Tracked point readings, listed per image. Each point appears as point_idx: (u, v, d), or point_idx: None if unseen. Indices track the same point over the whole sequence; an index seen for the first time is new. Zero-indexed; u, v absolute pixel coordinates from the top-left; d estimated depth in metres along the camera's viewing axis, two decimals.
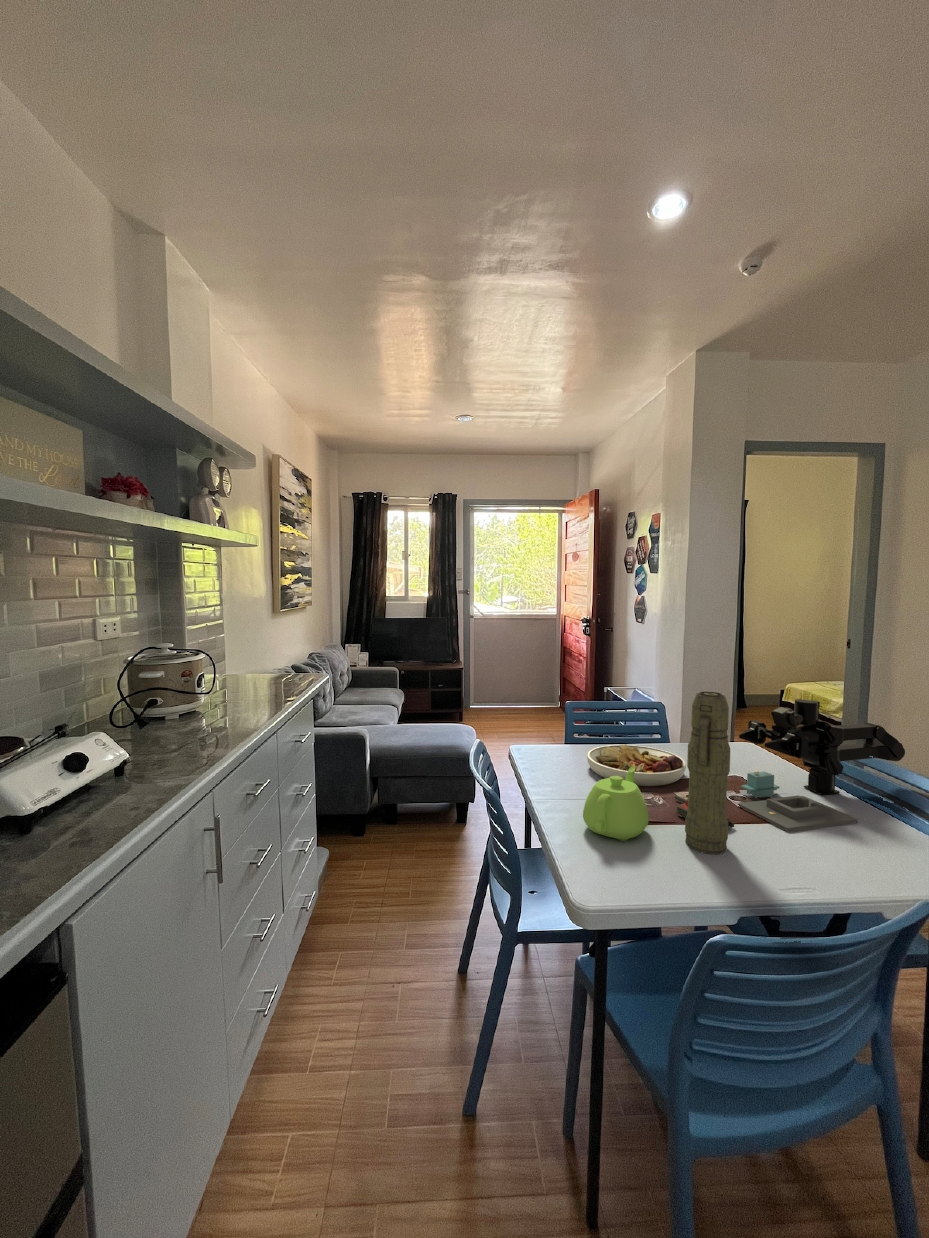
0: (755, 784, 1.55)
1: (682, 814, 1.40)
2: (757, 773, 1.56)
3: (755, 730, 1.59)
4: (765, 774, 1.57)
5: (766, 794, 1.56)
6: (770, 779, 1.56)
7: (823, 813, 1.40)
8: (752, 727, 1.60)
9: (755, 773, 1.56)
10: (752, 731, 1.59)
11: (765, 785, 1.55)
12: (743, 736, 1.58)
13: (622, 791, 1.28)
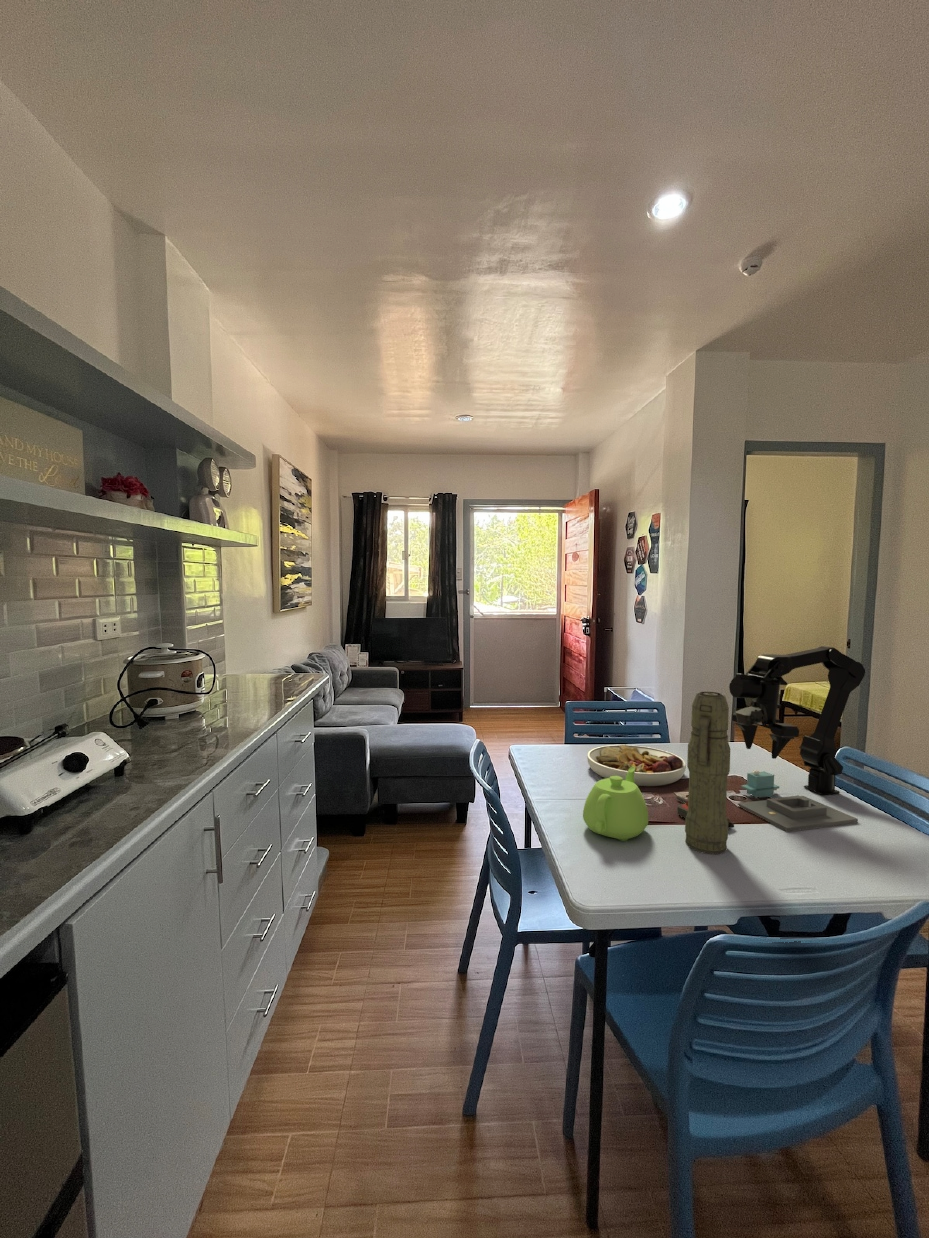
0: (755, 784, 1.55)
1: (682, 814, 1.40)
2: (757, 773, 1.56)
3: (746, 728, 1.61)
4: (765, 773, 1.57)
5: (766, 794, 1.56)
6: (770, 779, 1.56)
7: (823, 813, 1.40)
8: (741, 728, 1.61)
9: (755, 773, 1.56)
10: (746, 732, 1.61)
11: (765, 785, 1.55)
12: (749, 745, 1.61)
13: (622, 791, 1.28)
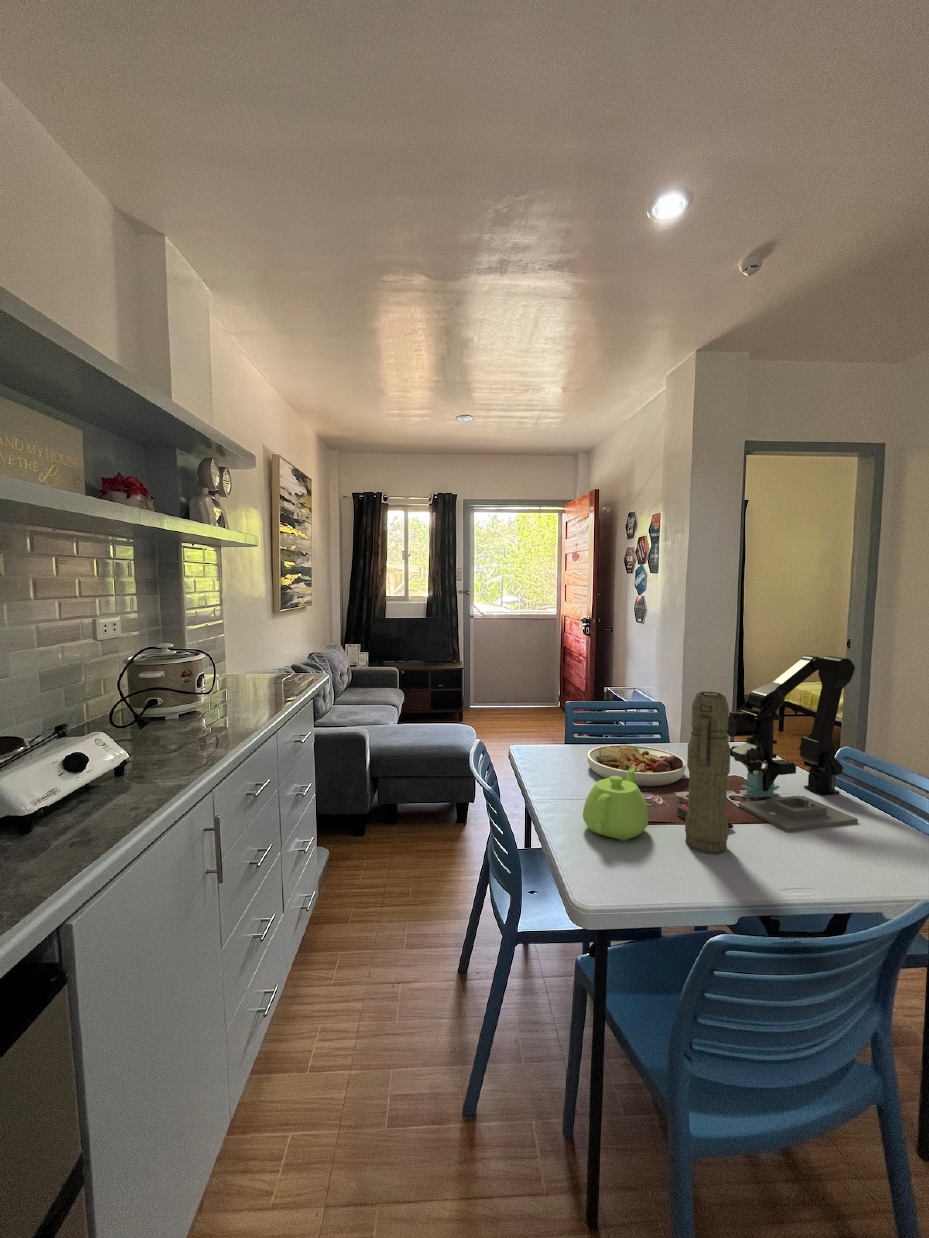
0: (755, 784, 1.55)
1: (682, 814, 1.40)
2: (757, 773, 1.56)
3: (751, 766, 1.59)
4: None
5: (766, 794, 1.56)
6: None
7: (823, 813, 1.40)
8: (746, 766, 1.59)
9: (755, 773, 1.56)
10: (752, 770, 1.59)
11: None
12: None
13: (622, 791, 1.28)
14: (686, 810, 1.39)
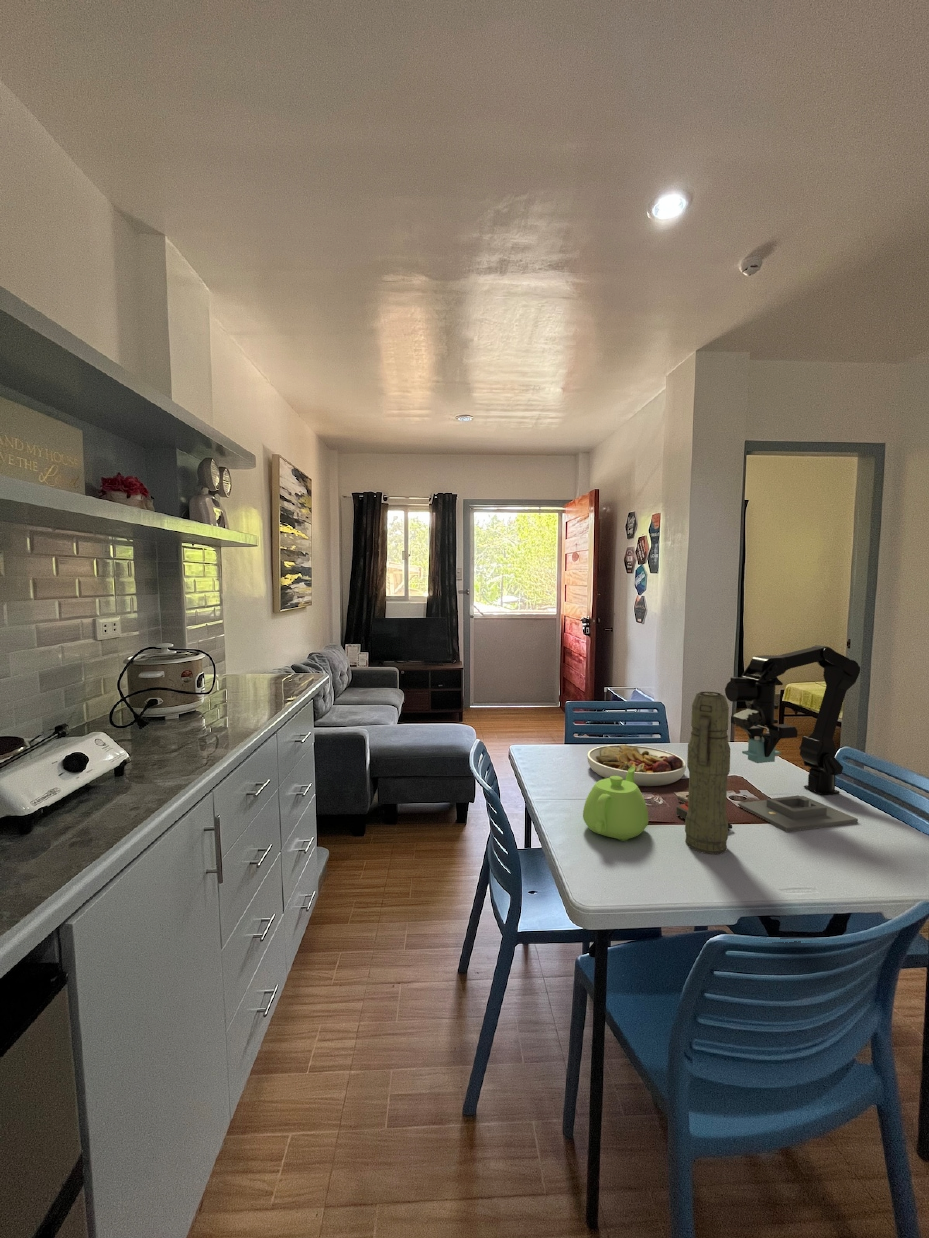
0: (756, 749, 1.54)
1: (681, 814, 1.40)
2: (758, 738, 1.55)
3: (752, 732, 1.58)
4: None
5: (767, 759, 1.55)
6: None
7: (823, 813, 1.40)
8: (748, 732, 1.59)
9: (756, 738, 1.55)
10: (753, 736, 1.58)
11: None
12: None
13: (622, 791, 1.28)
14: (685, 810, 1.39)
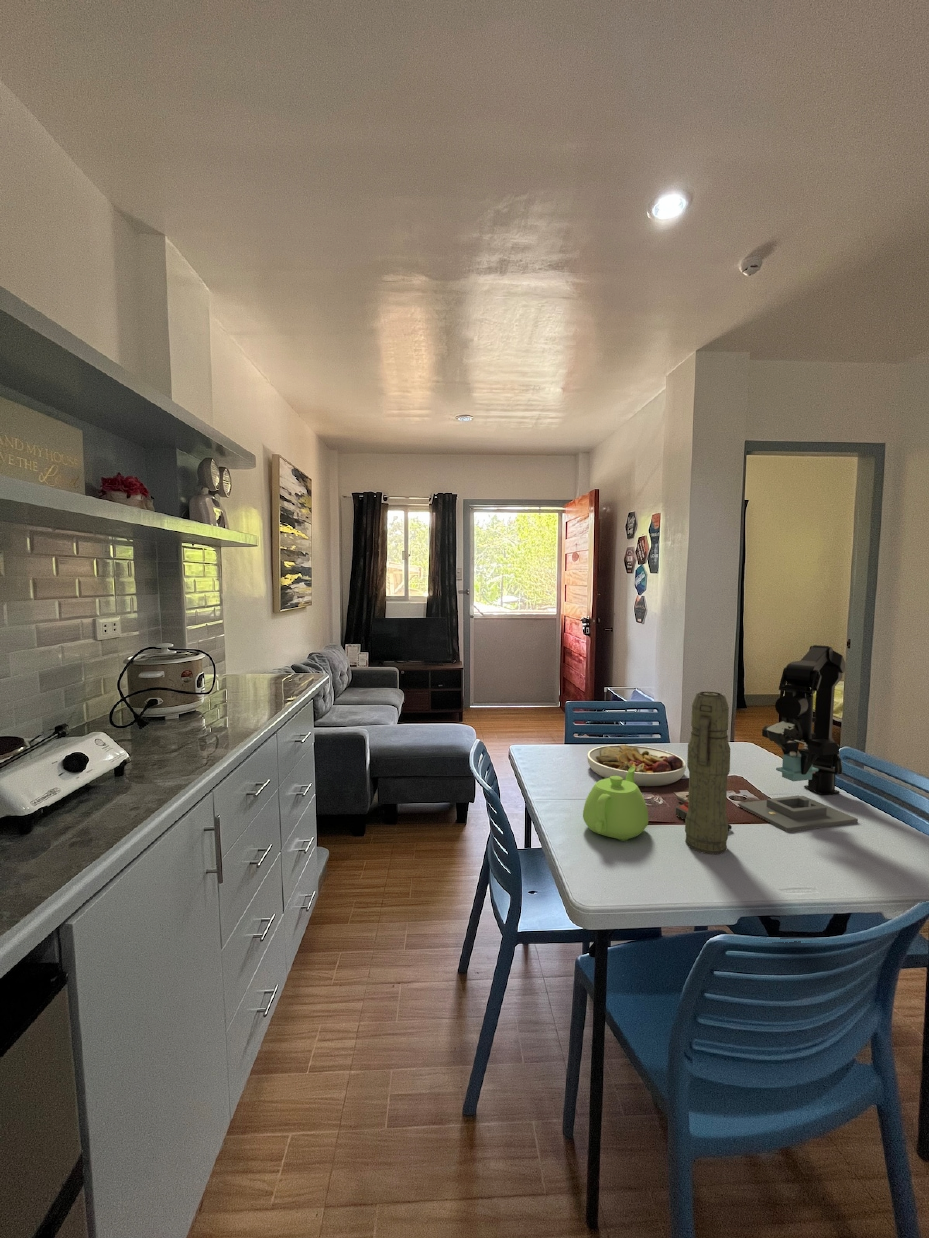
0: (792, 766, 1.40)
1: (680, 815, 1.40)
2: (794, 754, 1.41)
3: (787, 747, 1.44)
4: None
5: (804, 777, 1.41)
6: None
7: (823, 813, 1.40)
8: (782, 747, 1.45)
9: (792, 754, 1.41)
10: (787, 752, 1.44)
11: None
12: None
13: (622, 791, 1.28)
14: (684, 811, 1.39)
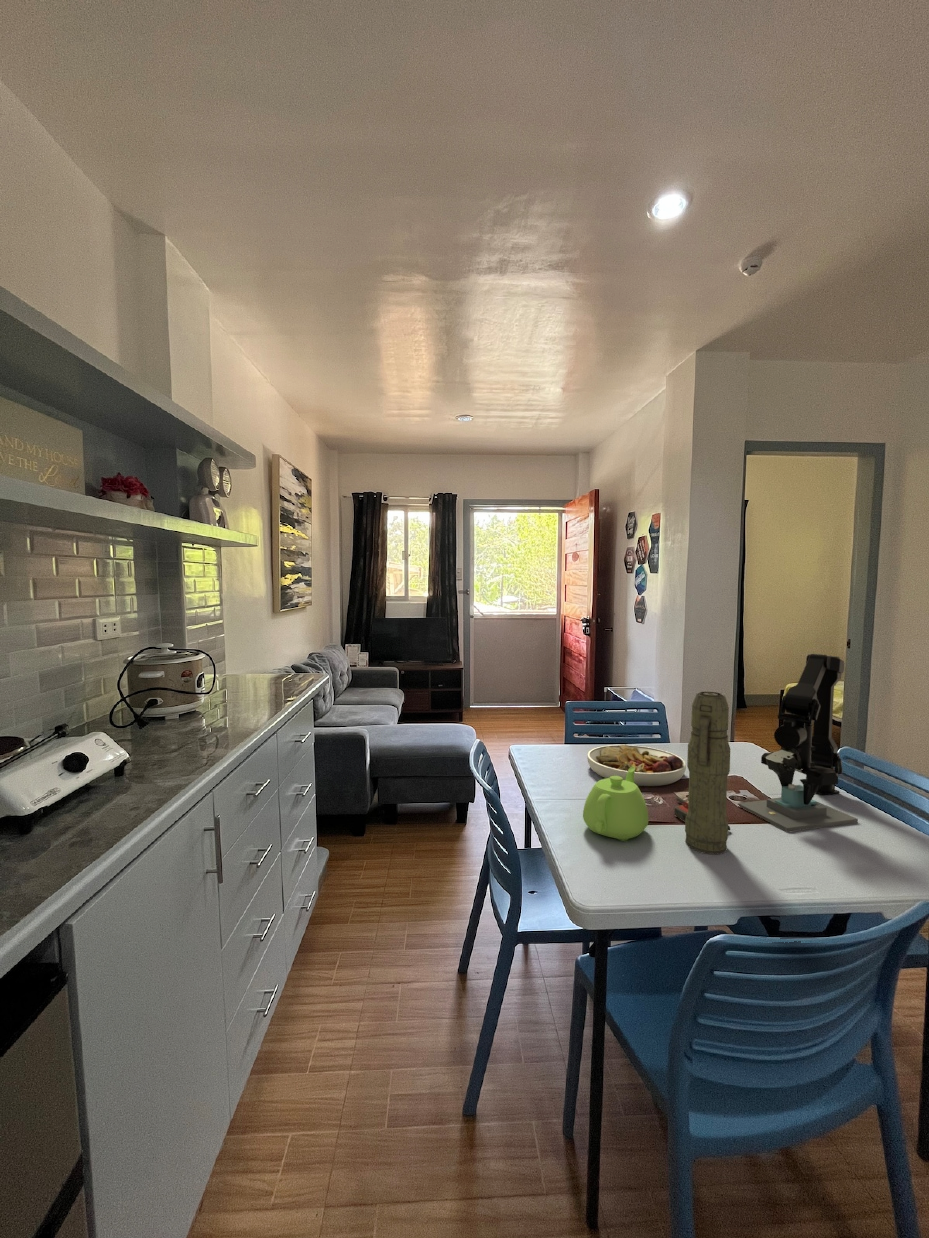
0: (791, 799, 1.41)
1: (679, 815, 1.40)
2: (793, 787, 1.42)
3: (782, 774, 1.46)
4: (801, 787, 1.43)
5: None
6: None
7: (823, 813, 1.40)
8: (777, 774, 1.46)
9: (790, 787, 1.42)
10: (783, 778, 1.46)
11: (802, 800, 1.41)
12: None
13: (622, 791, 1.28)
14: (683, 811, 1.39)
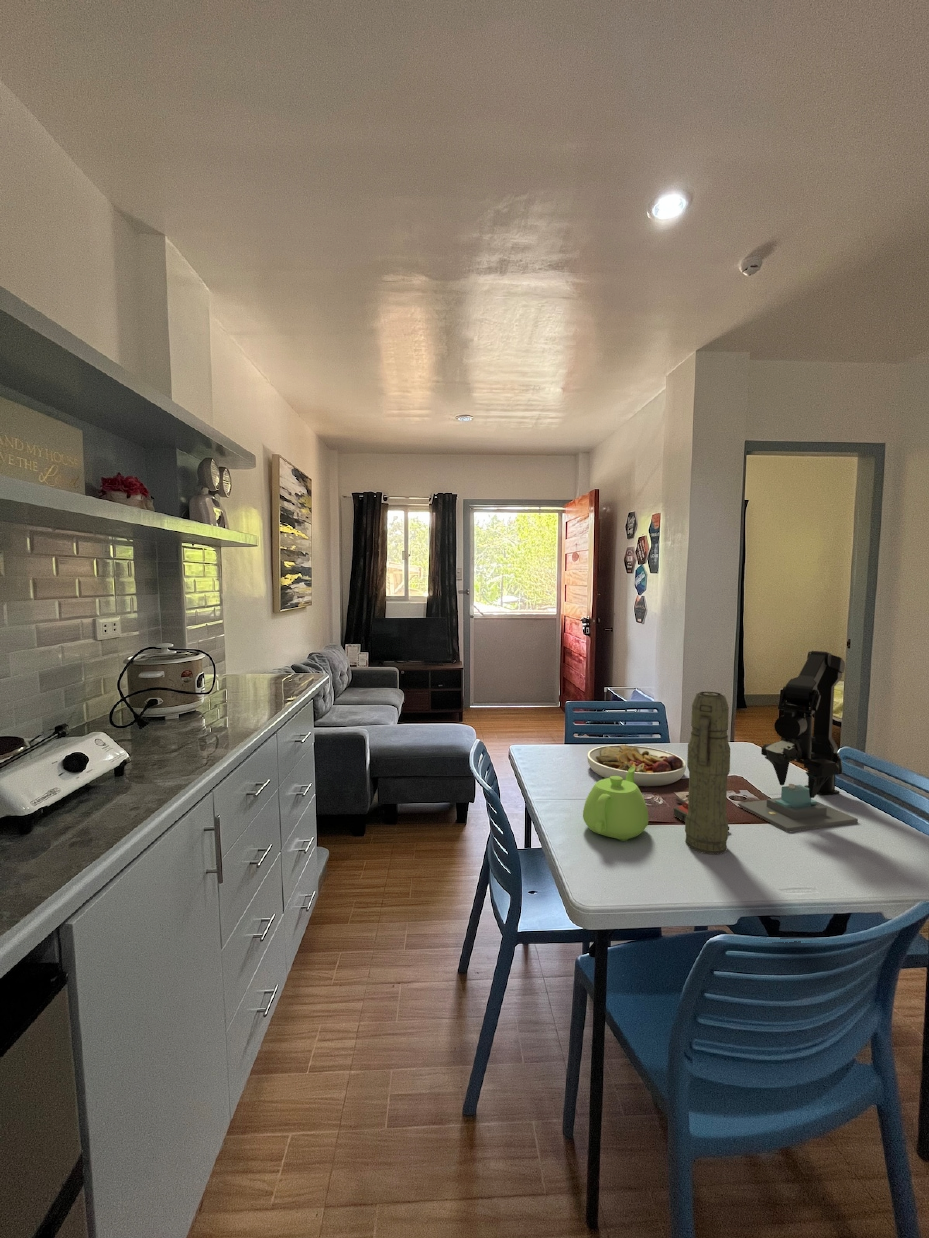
0: (791, 799, 1.41)
1: (678, 815, 1.40)
2: (793, 787, 1.42)
3: (778, 763, 1.47)
4: (801, 787, 1.43)
5: None
6: (807, 793, 1.42)
7: (823, 813, 1.40)
8: (773, 763, 1.48)
9: (790, 787, 1.42)
10: (778, 767, 1.47)
11: (802, 800, 1.41)
12: (783, 780, 1.47)
13: (622, 791, 1.28)
14: (682, 811, 1.39)
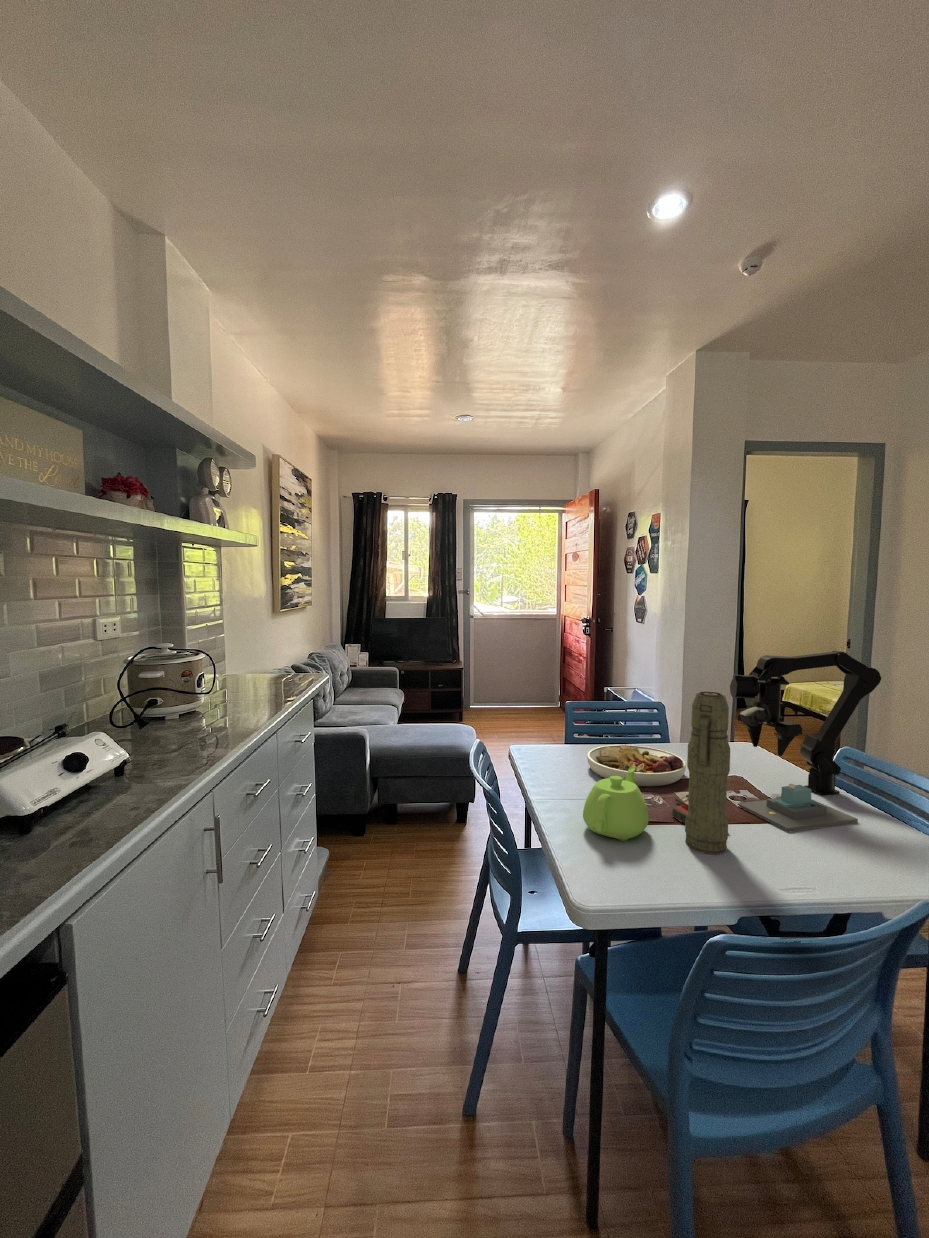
0: (791, 799, 1.41)
1: (676, 816, 1.39)
2: (793, 787, 1.42)
3: (751, 727, 1.66)
4: (801, 787, 1.43)
5: None
6: (807, 793, 1.42)
7: (823, 813, 1.40)
8: (747, 727, 1.67)
9: (790, 787, 1.42)
10: (752, 731, 1.66)
11: (802, 800, 1.41)
12: (756, 743, 1.66)
13: (622, 791, 1.28)
14: (681, 812, 1.38)
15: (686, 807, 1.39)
